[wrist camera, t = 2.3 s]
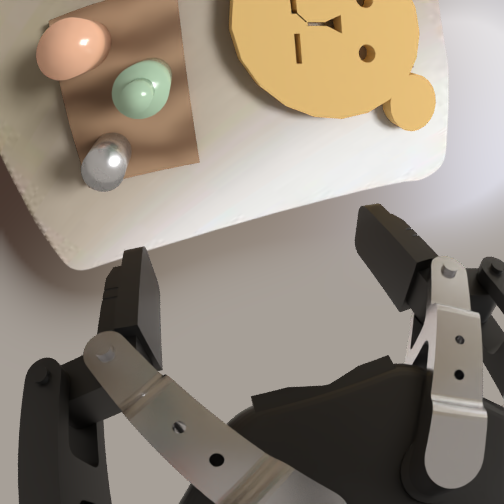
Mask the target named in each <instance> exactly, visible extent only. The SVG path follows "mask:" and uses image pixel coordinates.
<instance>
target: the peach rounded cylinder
mask: <svg viewBox="0 0 504 504" xmlns="http://www.w3.org/2000/svg"><path fill="white" fill-rule="evenodd" d="M111 43H112V40H111V34H110V32H109V30H108V29H107V27H106V26H105V25H103V24H102V23H100V22H97V21H93V20H87V19H82V18H74V17H71V18H64V19H61V20H59V21H57V22H55V23H54V24H52V25H51V26H50V27H49V28H48V29H47V30H46V31H45V32H44V33H43V35H42V36H41V38H40V40H39V43H38V46H37V51H36V59H37V64H38V66H39V68H40V70H41V71H42V73H43V74H44V75H46V76H47V77H49V78H51V79H54V80H68V79H71V78H73V77H76V76H78V75H80V74H83V73H85V72H88V71H90V70H93V69H95V68H96V67H98V66H99V65H100V64H102V63H103V61H104V60H105V59H106V58H107V56H108V54H109V52H110V49H111Z"/></svg>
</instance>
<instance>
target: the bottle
mask: <svg viewBox="0 0 504 504" xmlns="http://www.w3.org/2000/svg"><path fill="white" fill-rule="evenodd" d="M171 81H172V70H171V68H170V66H169V65H168V63H166V62H165V61H164V60H162V59H160V58H147V59H144V60H142V61H140V62H138V63H136V64H134V65H132V66H130V67H128V68H127V69H125V70H124V71H122V72H121V73H120V74H119V75H118V77H117V78H116V80H115V82H114V84H113V88H112V99H113V103H114V105H115V107H116V108H117V109H118V111H119V112H120V113H122V114H123V115H125V116H127V117H129V118H133V119H144V118H148V117H151V116H153V115H155V114H156V113H157V112H159V111H160V110H161V109H162V108H163V106H164V105H165V103H166V102H167V99H168V96H169V91H170V86H171Z"/></svg>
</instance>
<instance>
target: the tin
mask: <svg viewBox="0 0 504 504" xmlns="http://www.w3.org/2000/svg"><path fill="white" fill-rule="evenodd" d="M131 152H132V149H131V145H130V143H129V141H128V139H127V138H126V137H124V136H123V135H121V134H119V133H114V132H111V133H106V134H104V135H102V136H101V137H100V138H98V140H97V141H96V142H95V144H94V145H93V147H92V148H91V150H90V151H89V152H88V154H87V155H86V157H85V159H84V160H83V162H82V166H81V174H82V177H83V180H84V181H85V183H86V184H87V185H88V186H89V187H90V188H92V189H94V190H97V191H102V192H104V191H110V190H113V189H115V188H116V187H117V186H119V184H120V183H121V182H122V180H123V178H124V175H125V172H126V169H127V166H128V163H129V160H130V157H131Z"/></svg>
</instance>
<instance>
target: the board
mask: <svg viewBox="0 0 504 504" xmlns="http://www.w3.org/2000/svg"><path fill="white" fill-rule="evenodd" d="M71 17H74V18H82V19H87V20H93V21H97V22H100V23H102V24H103V25H105V26H106V27H107V29H108V30H109V32H110V34H111V40H112V43H111V49H110V52H109V54H108V56H107V58H106V59H105V60H104V61H103V63H102V64H100V65H99V66H98V67H96V68H95V69H93V70H90V71H88V72H85V73H83V74H80V75H78V76H76V77H73V78H71V79H68V80H59V83H60V88H61V92H62V96H63V101H64V105H65V109H66V113H67V117H68V121H69V124H70V128H71V132H72V135H73V139H74V142H75V146H76V149H77V152H78V156H79V159H80V162H81V165H82V162H83V160H84V159H85V157H86V155H87V154H88V152H89V151H90V150H91V148H92V147H93V145H94V144H95V142H96V141H97V140H98V138H100V137H101V136H102V135H104V134H106V133H111V132H114V133H119V134H121V135H123V136H124V137H126V138H127V139H128V141H129V143H130V145H131V149H132V152H131V157H130V160H129V163H128V166H127V169H126V172H125V175H124V178H123V179H125V178H129V177H133V176H137V175H141V174H146V173H150V172H155V171H159V170H164V169H169V168H174V167H179V166H184V165H189V164H194V163H199V162H200V161H199V155H198V149H197V143H196V136H195V130H194V123H193V116H192V110H191V103H190V96H189V89H188V81H187V74H186V66H185V59H184V51H183V43H182V35H181V26H180V18H179V9H178V0H105V1H102V2H99V3H95V4H92V5H89V6H86V7H83V8H81V9H78V10H75V11H72V12H70V13H67V14H64V15H62V16H59V17H57V18H54V19H52V20H50V21H49V27H50V26H51V25H52V24H54V23H55V22H57V21H59V20H61V19H64V18H71ZM147 58H160V59H162V60H164V61H165V62H166V63H168V65H169V66H170V68H171V70H172V81H171V86H170V91H169V96H168V99H167V102H166V103H165V105H164V106H163V108H162V109H161V110H160V111H159V112H157V113H156V114H155V115H153V116H151V117H148V118H144V119H133V118H129V117H127V116H125V115H123V114H122V113H120V112H119V111H118V109H117V108H116V107H115V105H114V103H113V99H112V88H113V84H114V82H115V80H116V78H117V77H118V75H119V74H120V73H121V72H122V71H124V70H125V69H127V68H128V67H130V66H132V65H134V64H136V63H138V62H140V61H142V60H144V59H147ZM89 188H90V187H89Z"/></svg>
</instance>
